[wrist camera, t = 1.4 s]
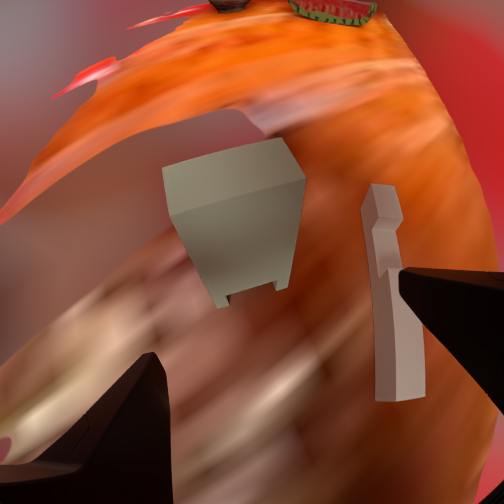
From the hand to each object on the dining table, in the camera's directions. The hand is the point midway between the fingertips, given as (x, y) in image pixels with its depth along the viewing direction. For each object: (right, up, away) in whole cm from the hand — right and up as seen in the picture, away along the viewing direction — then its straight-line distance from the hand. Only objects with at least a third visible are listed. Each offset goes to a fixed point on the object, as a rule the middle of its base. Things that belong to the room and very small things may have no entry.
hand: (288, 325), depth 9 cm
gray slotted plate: (-2, 0, +15) cm, 15 cm away
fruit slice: (+22, +71, +52) cm, 91 cm away
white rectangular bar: (+10, -1, +13) cm, 17 cm away
